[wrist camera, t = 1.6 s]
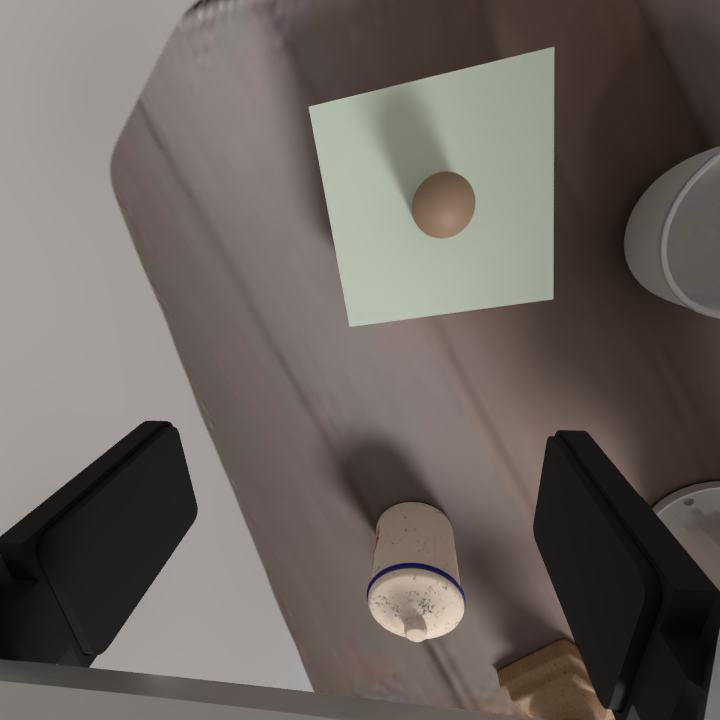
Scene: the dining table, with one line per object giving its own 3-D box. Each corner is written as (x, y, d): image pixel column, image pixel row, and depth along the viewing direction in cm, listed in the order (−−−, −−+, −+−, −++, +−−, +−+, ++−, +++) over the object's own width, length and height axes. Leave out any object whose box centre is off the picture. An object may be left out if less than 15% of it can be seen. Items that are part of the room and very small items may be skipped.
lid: (546, 55, 22) (596, -3, 16) (547, 295, 26) (586, 318, 20) (313, 111, 24) (282, 79, 18) (352, 322, 29) (337, 349, 23)
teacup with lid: (360, 511, 43) (344, 611, 32) (435, 488, 40) (445, 587, 30) (405, 583, 46) (403, 696, 35) (476, 566, 44) (498, 681, 33)
